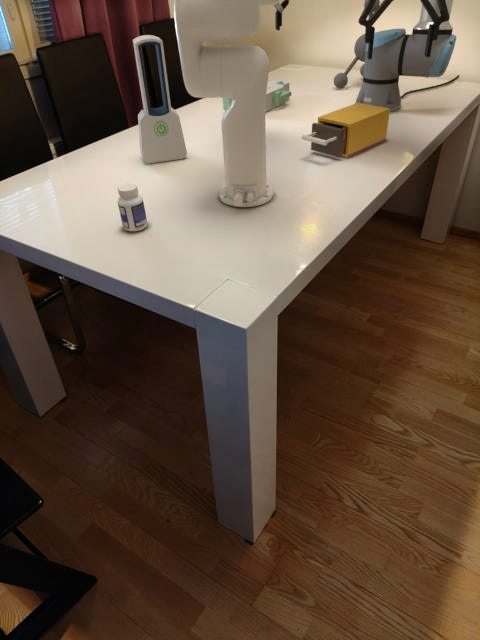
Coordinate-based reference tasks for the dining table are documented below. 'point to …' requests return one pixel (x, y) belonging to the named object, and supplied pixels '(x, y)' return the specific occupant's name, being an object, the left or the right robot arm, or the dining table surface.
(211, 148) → the dining table surface
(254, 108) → the left robot arm
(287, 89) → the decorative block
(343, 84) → the molecular model
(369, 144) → the yellow open box
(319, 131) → the drawer
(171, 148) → the electronic device
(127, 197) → the pill bottle
